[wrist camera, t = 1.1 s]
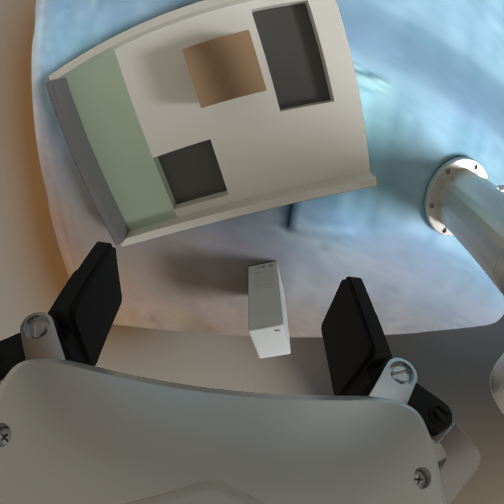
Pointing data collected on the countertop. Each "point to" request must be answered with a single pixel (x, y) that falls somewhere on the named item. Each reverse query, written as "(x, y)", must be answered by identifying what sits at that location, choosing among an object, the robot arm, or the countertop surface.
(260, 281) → the skincare box
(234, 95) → the block
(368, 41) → the countertop surface
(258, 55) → the box
